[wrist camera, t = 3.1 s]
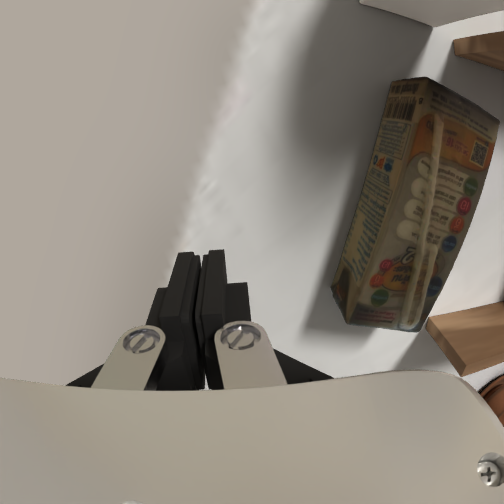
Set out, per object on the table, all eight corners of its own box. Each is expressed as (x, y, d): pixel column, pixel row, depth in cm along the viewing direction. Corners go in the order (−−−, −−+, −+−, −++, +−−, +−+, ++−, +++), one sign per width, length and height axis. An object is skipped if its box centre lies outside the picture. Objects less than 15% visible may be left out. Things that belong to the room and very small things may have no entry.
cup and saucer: (526, 366, 38) (543, 387, 32) (487, 414, 43) (501, 436, 37) (494, 365, 36) (514, 391, 30) (451, 419, 41) (465, 445, 35)
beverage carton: (323, 288, 28) (343, 333, 22) (385, 75, 21) (429, 68, 15) (395, 299, 29) (424, 340, 23) (458, 111, 22) (507, 117, 16)
